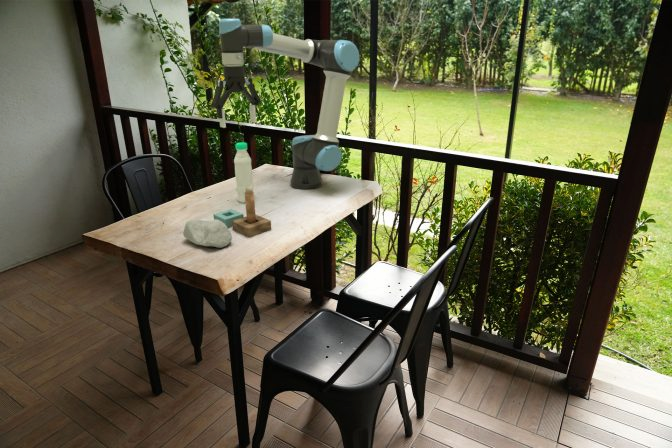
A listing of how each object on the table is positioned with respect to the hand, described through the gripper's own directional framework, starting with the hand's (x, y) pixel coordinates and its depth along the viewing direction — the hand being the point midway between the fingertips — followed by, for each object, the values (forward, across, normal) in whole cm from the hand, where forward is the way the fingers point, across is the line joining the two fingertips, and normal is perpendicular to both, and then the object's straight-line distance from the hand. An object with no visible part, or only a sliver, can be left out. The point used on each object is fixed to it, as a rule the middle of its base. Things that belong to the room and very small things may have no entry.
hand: (238, 124), depth 176 cm
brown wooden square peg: (+35, -10, -18) cm, 40 cm away
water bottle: (+35, +7, +10) cm, 37 cm away
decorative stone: (+35, -28, -16) cm, 48 cm away
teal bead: (+35, -12, -6) cm, 37 cm away
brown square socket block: (+35, -10, -18) cm, 40 cm away
